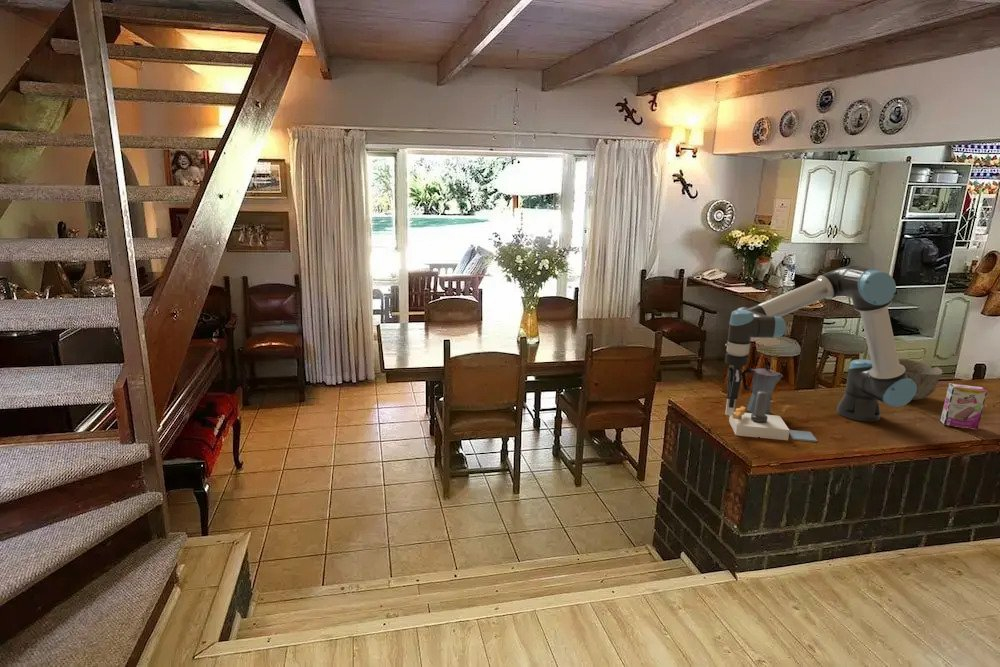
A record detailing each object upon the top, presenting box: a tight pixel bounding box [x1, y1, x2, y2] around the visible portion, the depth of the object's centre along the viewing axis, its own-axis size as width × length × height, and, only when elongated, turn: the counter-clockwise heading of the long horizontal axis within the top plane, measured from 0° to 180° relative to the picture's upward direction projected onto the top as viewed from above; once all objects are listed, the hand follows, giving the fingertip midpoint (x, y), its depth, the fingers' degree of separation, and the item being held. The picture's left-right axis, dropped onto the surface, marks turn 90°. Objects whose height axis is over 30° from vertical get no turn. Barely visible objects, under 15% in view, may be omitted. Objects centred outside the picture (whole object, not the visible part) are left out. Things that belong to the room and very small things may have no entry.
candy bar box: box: [939, 382, 988, 430], centre depth 229 cm, size 11×5×16 cm, turn 71°
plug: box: [751, 391, 768, 423], centre depth 221 cm, size 6×6×15 cm
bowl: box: [898, 358, 944, 401], centre depth 260 cm, size 22×22×15 cm
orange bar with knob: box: [733, 405, 747, 419], centre depth 221 cm, size 12×3×1 cm, turn 144°
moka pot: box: [741, 365, 784, 415], centre depth 238 cm, size 10×15×20 cm, turn 78°
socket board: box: [728, 411, 791, 441], centre depth 222 cm, size 18×14×6 cm
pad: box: [789, 429, 818, 443], centre depth 218 cm, size 8×8×1 cm
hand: (729, 414), depth 219 cm, fingers closed
